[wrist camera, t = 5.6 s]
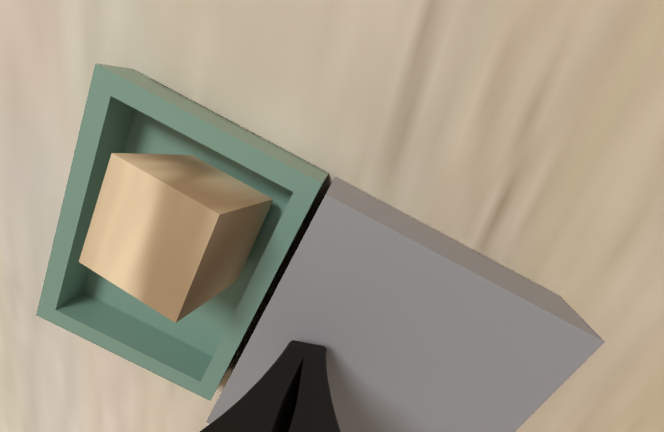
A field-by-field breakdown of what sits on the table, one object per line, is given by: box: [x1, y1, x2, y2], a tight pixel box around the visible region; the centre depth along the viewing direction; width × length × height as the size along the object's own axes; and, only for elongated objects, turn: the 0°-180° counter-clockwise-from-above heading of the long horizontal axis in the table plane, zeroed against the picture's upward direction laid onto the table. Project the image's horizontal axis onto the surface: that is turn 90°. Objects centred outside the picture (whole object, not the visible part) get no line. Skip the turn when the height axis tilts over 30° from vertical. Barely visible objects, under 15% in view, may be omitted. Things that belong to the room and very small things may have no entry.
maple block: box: [79, 153, 274, 323], centre depth 13 cm, size 4×4×4 cm
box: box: [36, 64, 329, 400], centre depth 15 cm, size 9×12×2 cm
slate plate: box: [206, 177, 604, 432], centre depth 15 cm, size 11×12×3 cm
